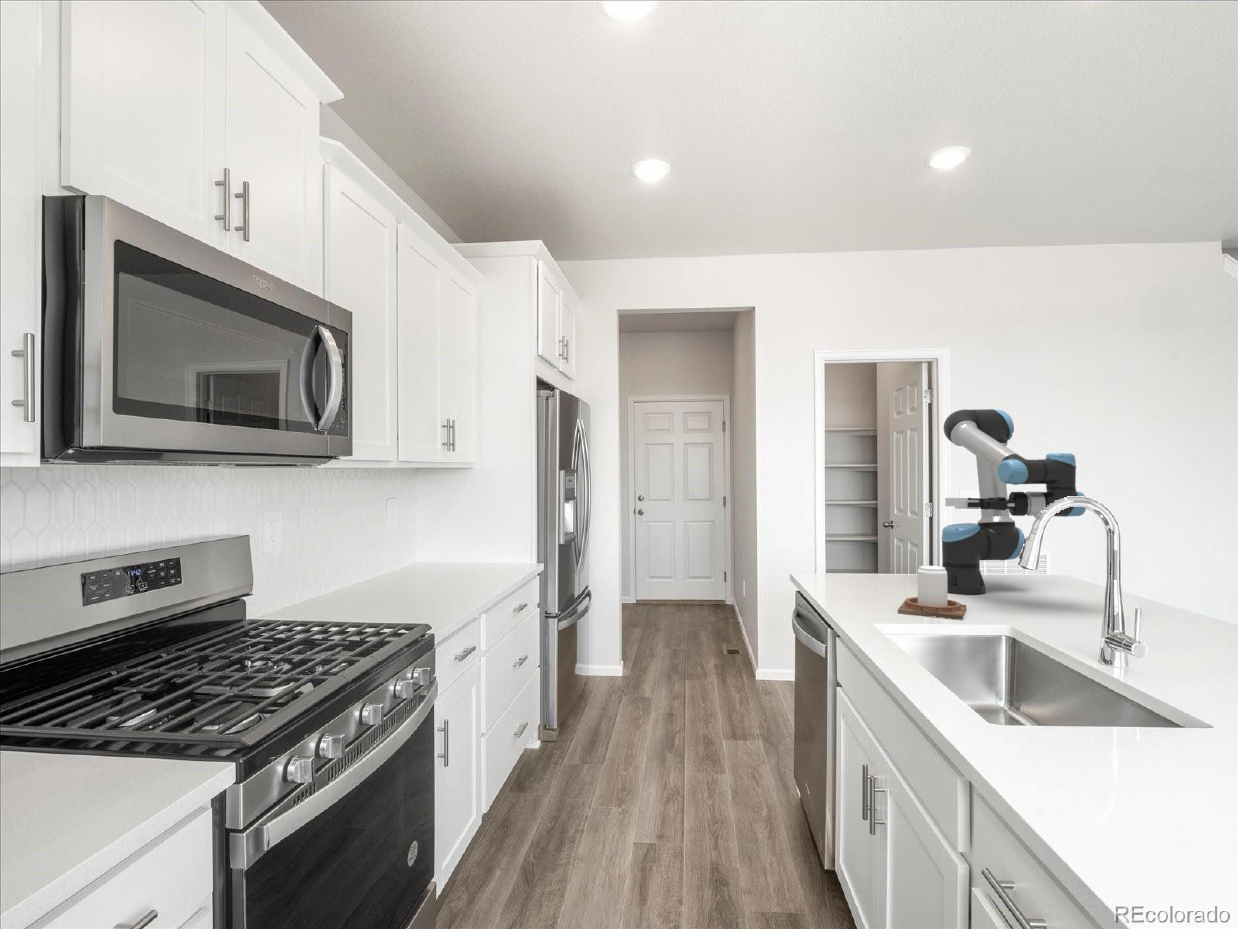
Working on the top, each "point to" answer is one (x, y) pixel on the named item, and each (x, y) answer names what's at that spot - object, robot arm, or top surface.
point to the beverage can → (932, 586)
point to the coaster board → (933, 609)
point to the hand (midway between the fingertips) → (950, 503)
